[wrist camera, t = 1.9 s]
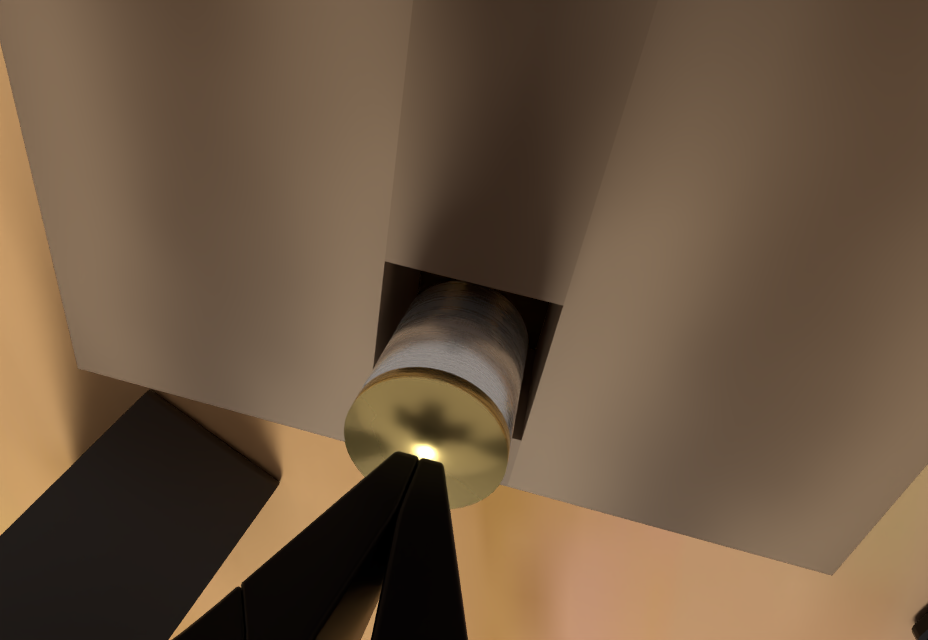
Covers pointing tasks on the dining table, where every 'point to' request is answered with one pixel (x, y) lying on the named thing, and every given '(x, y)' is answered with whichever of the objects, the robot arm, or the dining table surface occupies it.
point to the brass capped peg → (445, 389)
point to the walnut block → (517, 228)
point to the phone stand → (128, 531)
